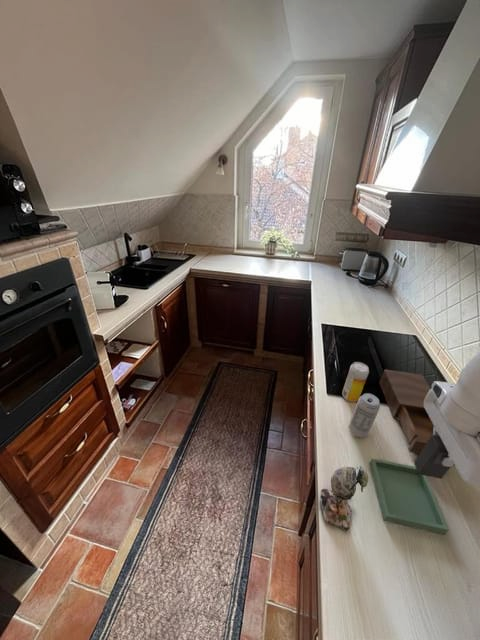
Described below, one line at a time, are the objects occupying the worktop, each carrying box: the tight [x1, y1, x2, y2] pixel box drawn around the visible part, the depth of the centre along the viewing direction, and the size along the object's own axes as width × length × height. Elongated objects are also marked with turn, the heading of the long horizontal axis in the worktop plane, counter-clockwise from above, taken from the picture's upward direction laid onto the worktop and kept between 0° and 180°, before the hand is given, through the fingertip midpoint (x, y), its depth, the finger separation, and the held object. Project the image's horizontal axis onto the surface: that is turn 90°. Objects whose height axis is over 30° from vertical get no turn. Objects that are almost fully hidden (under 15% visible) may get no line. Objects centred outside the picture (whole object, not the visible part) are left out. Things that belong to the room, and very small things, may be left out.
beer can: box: [341, 361, 370, 403], centre depth 93 cm, size 6×6×15 cm
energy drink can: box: [348, 392, 381, 438], centre depth 80 cm, size 6×6×15 cm
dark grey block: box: [413, 435, 451, 480], centre depth 59 cm, size 5×3×11 cm, turn 79°
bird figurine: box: [319, 465, 369, 532], centre depth 60 cm, size 8×11×20 cm
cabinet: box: [378, 369, 432, 420], centre depth 93 cm, size 18×14×7 cm
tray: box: [369, 458, 449, 535], centre depth 67 cm, size 14×15×2 cm
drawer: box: [397, 406, 456, 467], centre depth 80 cm, size 21×12×5 cm, turn 169°
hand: (440, 453), depth 58 cm, fingers closed on dark grey block, 3 cm apart
